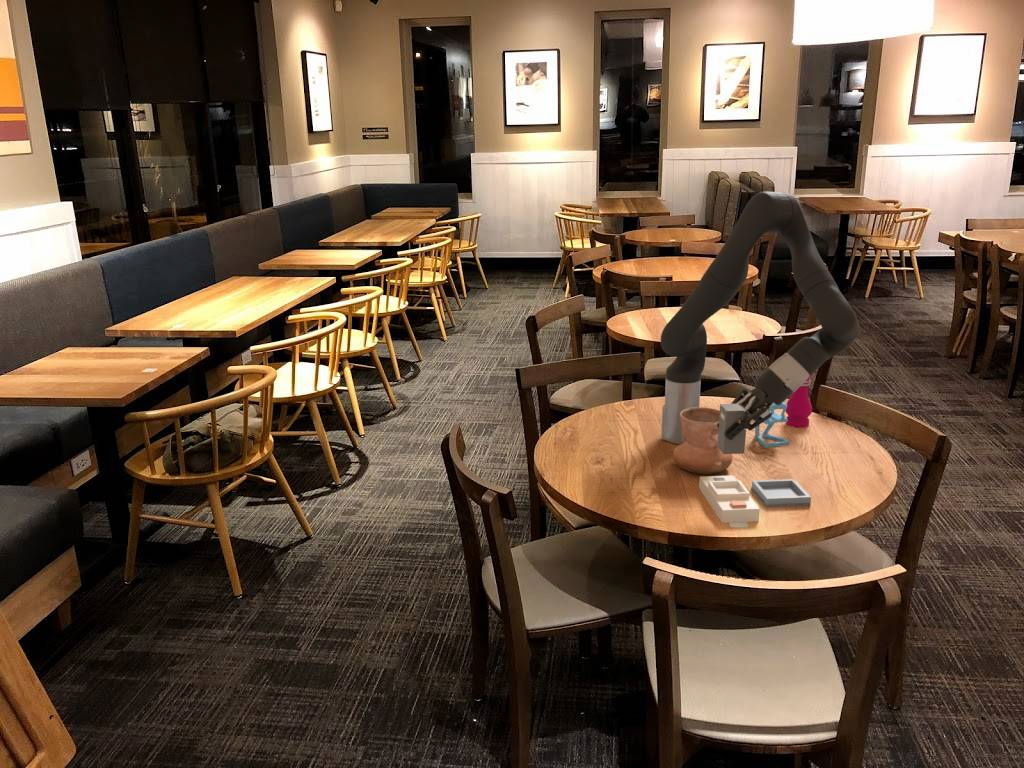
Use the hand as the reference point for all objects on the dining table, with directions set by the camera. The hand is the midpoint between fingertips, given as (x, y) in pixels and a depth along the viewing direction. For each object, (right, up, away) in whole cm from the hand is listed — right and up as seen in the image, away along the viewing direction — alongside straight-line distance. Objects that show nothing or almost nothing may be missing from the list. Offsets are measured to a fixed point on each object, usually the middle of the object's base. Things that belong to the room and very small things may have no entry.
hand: (723, 432), depth 179 cm
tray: (+15, -15, +8) cm, 23 cm away
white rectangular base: (+2, -16, +5) cm, 17 cm away
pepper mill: (+35, -1, +54) cm, 65 cm away
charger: (+2, -4, +1) cm, 5 cm away
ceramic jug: (+1, -10, +26) cm, 28 cm away
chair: (+23, -5, +42) cm, 48 cm away
